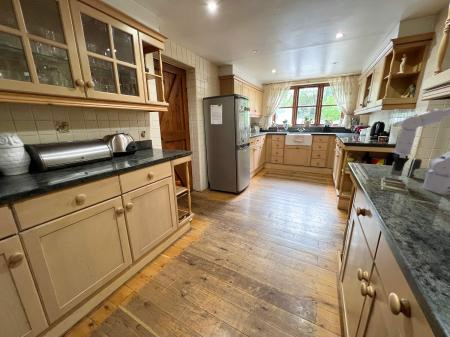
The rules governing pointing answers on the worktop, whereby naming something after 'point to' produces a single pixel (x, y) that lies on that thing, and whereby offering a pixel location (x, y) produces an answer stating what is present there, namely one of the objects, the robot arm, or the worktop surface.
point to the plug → (397, 173)
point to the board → (394, 185)
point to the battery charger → (414, 167)
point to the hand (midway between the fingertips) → (397, 169)
